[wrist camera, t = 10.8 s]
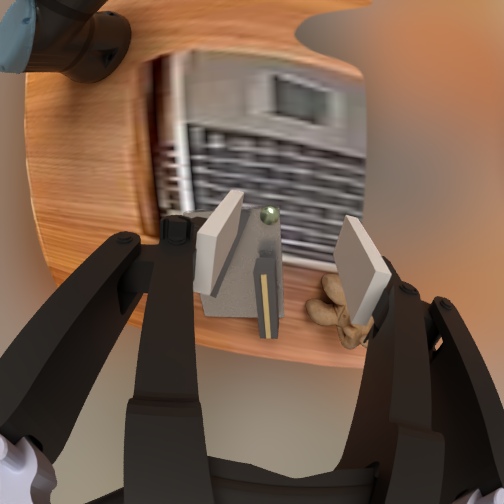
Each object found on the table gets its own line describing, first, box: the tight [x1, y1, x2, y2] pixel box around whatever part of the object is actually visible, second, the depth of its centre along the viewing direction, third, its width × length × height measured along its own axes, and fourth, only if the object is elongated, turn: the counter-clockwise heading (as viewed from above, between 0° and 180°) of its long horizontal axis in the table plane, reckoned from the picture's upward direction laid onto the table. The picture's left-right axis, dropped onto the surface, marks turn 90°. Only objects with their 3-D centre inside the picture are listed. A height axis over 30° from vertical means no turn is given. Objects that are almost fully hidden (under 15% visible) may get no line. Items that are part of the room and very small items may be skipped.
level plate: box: [183, 205, 284, 318], centre depth 48 cm, size 22×16×2 cm
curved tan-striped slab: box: [253, 257, 279, 339], centre depth 46 cm, size 3×14×6 cm, turn 5°
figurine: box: [306, 274, 374, 349], centre depth 44 cm, size 11×9×15 cm
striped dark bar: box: [210, 211, 250, 298], centre depth 43 cm, size 3×14×6 cm, turn 158°
